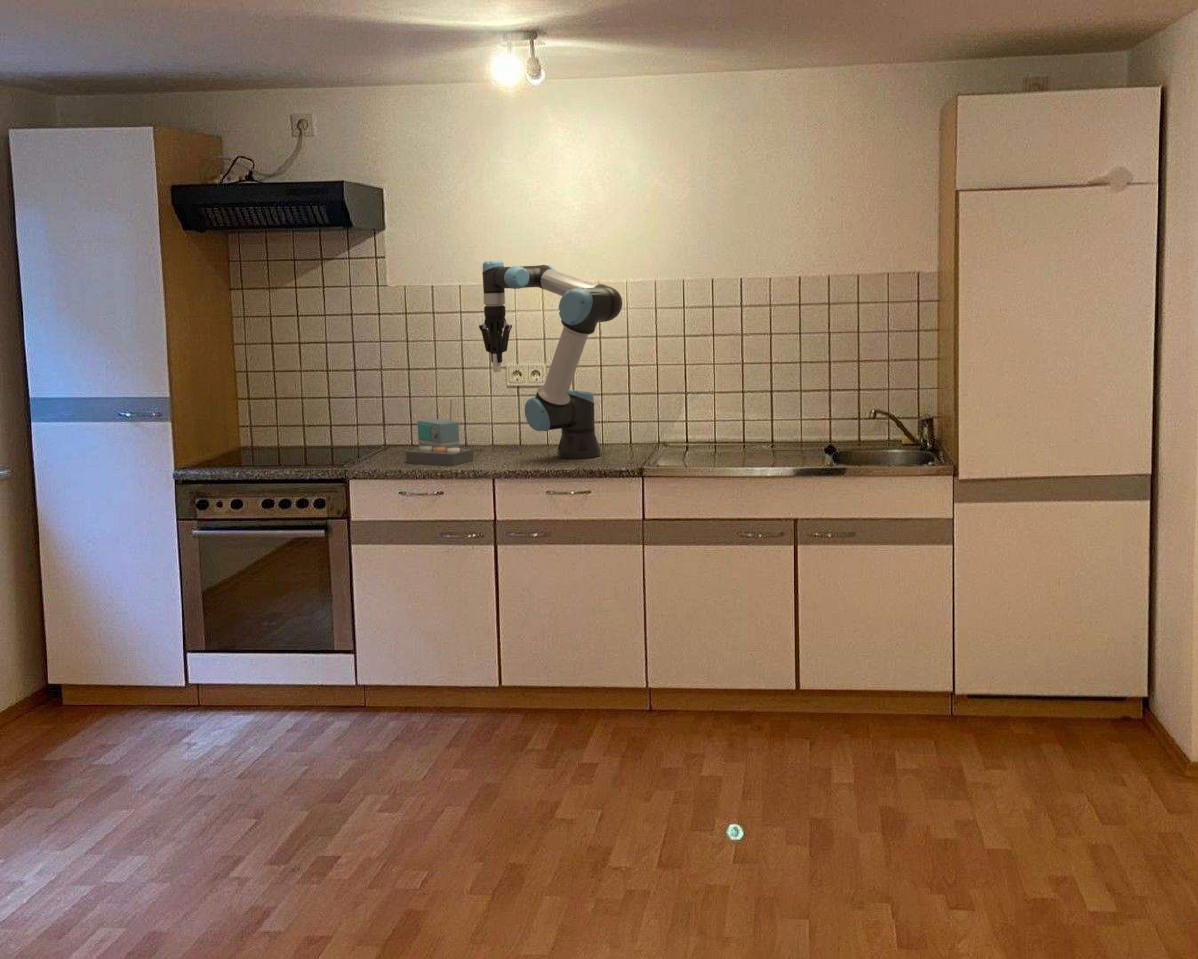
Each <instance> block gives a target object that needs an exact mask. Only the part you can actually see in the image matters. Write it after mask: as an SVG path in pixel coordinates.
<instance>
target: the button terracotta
mask: <svg viewBox="0 0 1198 959" xmlns="http://www.w3.org/2000/svg"><path fill="white" fill-rule="evenodd" d="M433 451H435V452H442V451H446V447H434V448H433Z"/></svg>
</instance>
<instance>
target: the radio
mask: <svg viewBox="0 0 1198 959" xmlns="http://www.w3.org/2000/svg"><path fill="white" fill-rule="evenodd" d="M449 404H450V409H449V410H450V412H449V420H448V419H447V420H446V419H442V418H429V419H428V418H427V419H421V420H420V419H418V420H417V421H416V422H417V423H416V424H417V438H418V440H417V442H418V448H419V447H421V446H432V447H446V448H460V430H459V429H460V426H459V422H458V421H455V420H452V406H453V405H452V399H450V403H449ZM460 449H461V448H460Z"/></svg>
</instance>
